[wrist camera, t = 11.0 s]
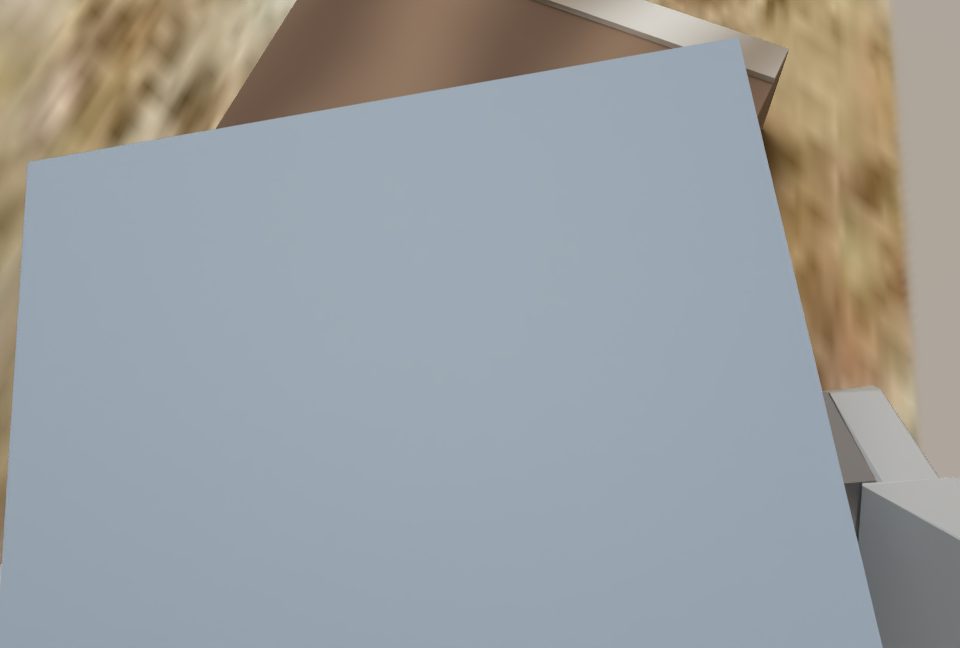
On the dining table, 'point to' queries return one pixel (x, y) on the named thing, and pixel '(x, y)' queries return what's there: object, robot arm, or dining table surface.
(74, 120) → the dining table surface
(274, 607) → the blue-grey rectangular block
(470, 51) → the dock
